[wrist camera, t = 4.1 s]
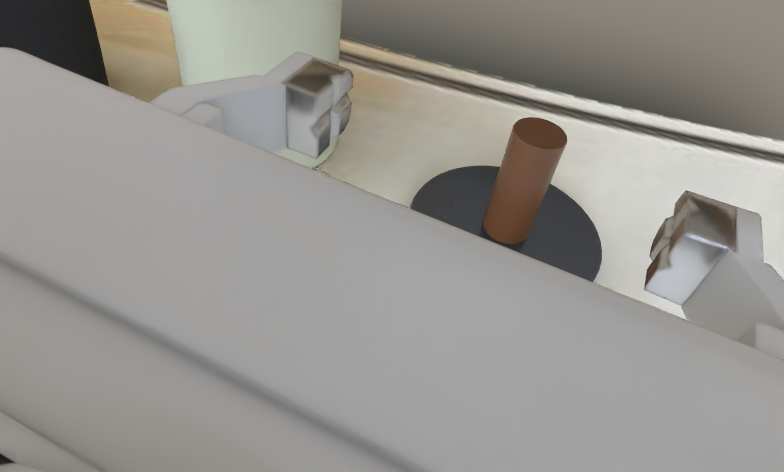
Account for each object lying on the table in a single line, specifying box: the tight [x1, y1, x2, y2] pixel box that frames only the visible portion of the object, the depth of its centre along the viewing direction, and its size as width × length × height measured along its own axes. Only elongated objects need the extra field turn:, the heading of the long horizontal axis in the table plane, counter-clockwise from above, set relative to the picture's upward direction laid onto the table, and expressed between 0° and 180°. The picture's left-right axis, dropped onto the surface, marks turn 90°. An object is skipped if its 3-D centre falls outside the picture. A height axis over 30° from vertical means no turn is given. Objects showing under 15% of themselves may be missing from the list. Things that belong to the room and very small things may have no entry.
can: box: [167, 0, 342, 169], centre depth 31 cm, size 9×9×12 cm
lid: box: [410, 117, 602, 282], centre depth 29 cm, size 11×11×7 cm
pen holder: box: [0, 0, 109, 87], centre depth 31 cm, size 9×9×10 cm
